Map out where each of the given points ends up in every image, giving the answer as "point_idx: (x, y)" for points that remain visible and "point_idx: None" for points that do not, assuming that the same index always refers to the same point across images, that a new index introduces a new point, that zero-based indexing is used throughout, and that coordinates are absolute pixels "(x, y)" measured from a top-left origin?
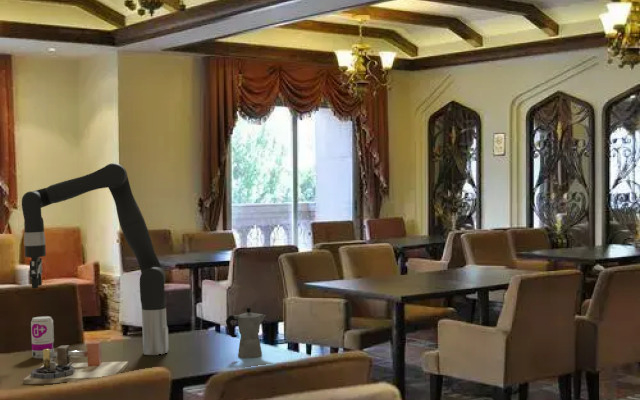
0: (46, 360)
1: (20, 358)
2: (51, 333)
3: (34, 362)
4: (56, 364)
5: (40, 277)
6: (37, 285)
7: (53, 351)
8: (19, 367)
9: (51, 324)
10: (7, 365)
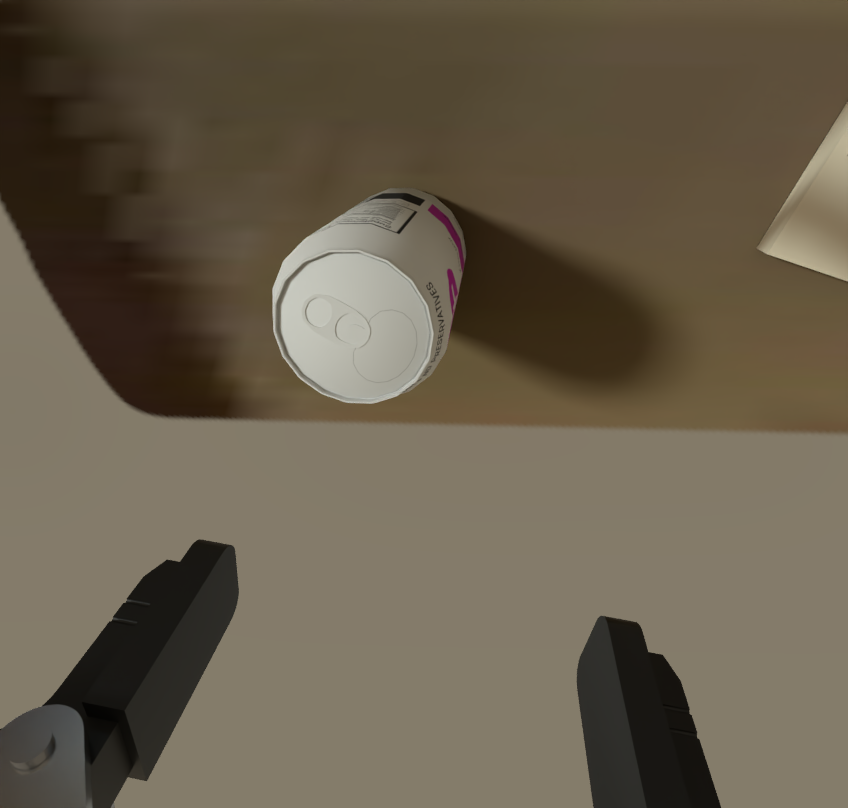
0: None
1: None
2: (424, 226)
3: (549, 300)
4: (844, 182)
5: (152, 680)
6: (646, 663)
7: (424, 195)
8: (638, 372)
9: (410, 238)
10: (552, 419)
